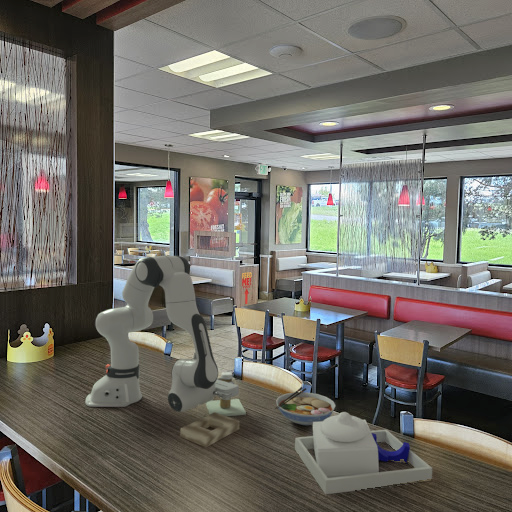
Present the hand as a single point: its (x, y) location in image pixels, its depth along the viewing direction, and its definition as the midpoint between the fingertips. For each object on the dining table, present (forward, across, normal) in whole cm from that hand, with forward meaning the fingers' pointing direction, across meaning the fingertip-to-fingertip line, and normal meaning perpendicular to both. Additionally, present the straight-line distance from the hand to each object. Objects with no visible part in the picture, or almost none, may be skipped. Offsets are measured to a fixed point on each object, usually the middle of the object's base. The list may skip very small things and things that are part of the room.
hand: (227, 381), depth 182 cm
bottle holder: (-21, -9, +11) cm, 25 cm away
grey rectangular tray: (-7, -60, +12) cm, 62 cm away
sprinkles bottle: (-1, 0, +10) cm, 10 cm away
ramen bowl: (+10, -31, +12) cm, 34 cm away
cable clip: (+1, -66, +11) cm, 67 cm away
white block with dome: (-10, -56, +11) cm, 58 cm away
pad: (-1, 0, +11) cm, 11 cm away
